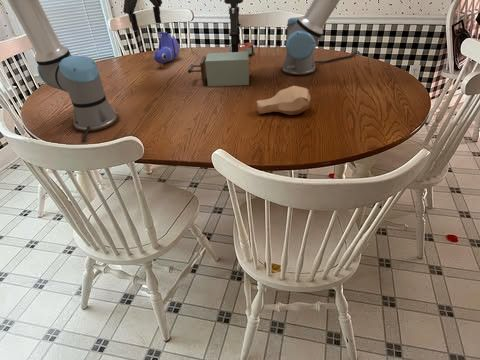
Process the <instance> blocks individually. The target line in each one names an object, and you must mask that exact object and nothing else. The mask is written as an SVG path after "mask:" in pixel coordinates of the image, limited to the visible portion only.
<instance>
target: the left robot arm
mask: <svg viewBox="0 0 480 360" xmlns="http://www.w3.org/2000/svg"><path fill="white" fill-rule="evenodd" d="M6 1H7V3H8V4H9V6H10V8H11V11H13V13H14V16H15V17H16V19H17V20H18V23H19V24H20V26H21V27H22V30H23V31H24V33H25V35H26V37H27V39H28V40H29V42H30V44H31V45H32V48H33V49H34V51H35V56H34V60H35V62H36V64H37V73H38V76H39V78H40V79H41V80H42V81H43V82H44V83H45V84H46V85H48V86H49V87H51V88H53V89H56V90H60V91H62V92H65V93H68V96H69V99H70V101H71V104H72V108H73V114H72V117H73V118H72V119H73V125H74V128H75V129H76V131H78V132H84V134H83V138H82V139H81V141H82V142H85V141H86V139H87V136H88V135H89V134H88V133H92V132H99V131H102V130H105V129H107V128H110V127H111V126H113V125H115V124H116V122H117V121H118V116H117V112H116V110H115V109H114V107H112V105H111V103H110V102H109V101H108V99H107V96H106V92H105V89H104V87H103V86H104V85H103V83H102V79H101V75H100V71H99V68H98V66H97V63H96V60H94V59H93V58H91V57H89V56H87V55H72V54H71V52H70V50H69V48H68V47H67V46H65V45H62V44H61V41H60V40H59V38H58V36H57V34H56V32H55V30H54V28H53V26H52V24H51V22H50V20H49V18H48V16H47V13H46V12H45V10H44V8H43V5H42V4H41V2H40V0H6ZM149 2H150V3H151V4H152V5H153V6H152V10H153V16H154V22H155V24H162V19H161V9H160V7H162V4H163V1H162V0H149ZM137 3H138V0H124V2H123V10H122V11H123V14H127V15H128V19H129V22H130V23H131V27H132V31H134V32H139V31H140V29H139V25H138V20H137V15H136V13H135V9H136V6H137Z"/></svg>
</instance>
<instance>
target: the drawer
mask: <svg viewBox="0 0 480 360" xmlns="http://www.w3.org/2000/svg"><path fill="white" fill-rule="evenodd" d="M206 58H207V55H202V57H201V60H200V61H199V62H200V63H199V64H193V63H192V64H190V65H189V68H188V70H187V73H188V74H191V73H200V74H201V83H202V85H206V82H207V73H206V63H205V60H206ZM194 68H200V69H194Z"/></svg>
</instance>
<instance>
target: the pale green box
mask: <svg viewBox="0 0 480 360" xmlns="http://www.w3.org/2000/svg"><path fill="white" fill-rule="evenodd" d="M249 57H250V56H248V51H247V52H229V51H227V52H226V51H225V52H224V51H223V52H208V53H207V55H206V60H205V63H206V73H207V80H206V82H207V87H229V86H231V87H233V86H250V64H249V63H250V58H249Z"/></svg>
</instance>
